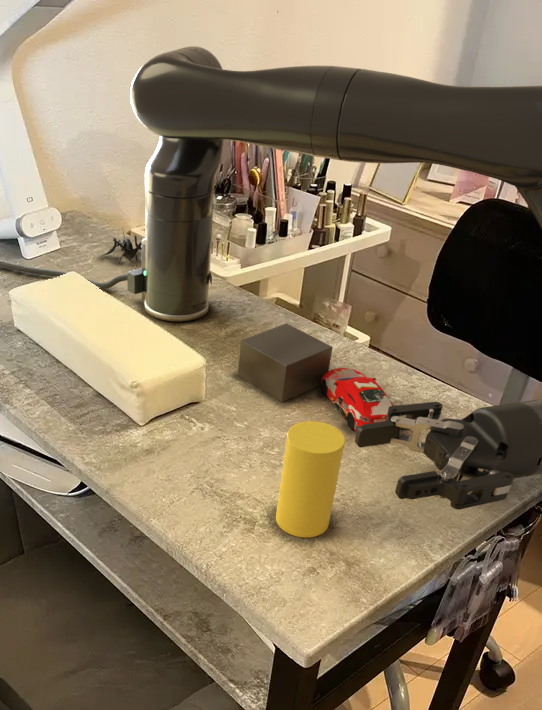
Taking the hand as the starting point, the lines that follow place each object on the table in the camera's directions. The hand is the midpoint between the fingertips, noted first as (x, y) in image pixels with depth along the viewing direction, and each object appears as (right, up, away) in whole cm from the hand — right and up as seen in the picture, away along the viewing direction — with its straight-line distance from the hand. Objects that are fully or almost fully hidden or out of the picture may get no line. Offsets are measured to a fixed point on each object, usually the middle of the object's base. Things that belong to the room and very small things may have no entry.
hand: (377, 461), depth 74 cm
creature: (-27, +36, +54) cm, 70 cm away
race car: (+3, +7, +18) cm, 20 cm away
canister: (-7, -6, +2) cm, 9 cm away
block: (-6, +12, +24) cm, 27 cm away
